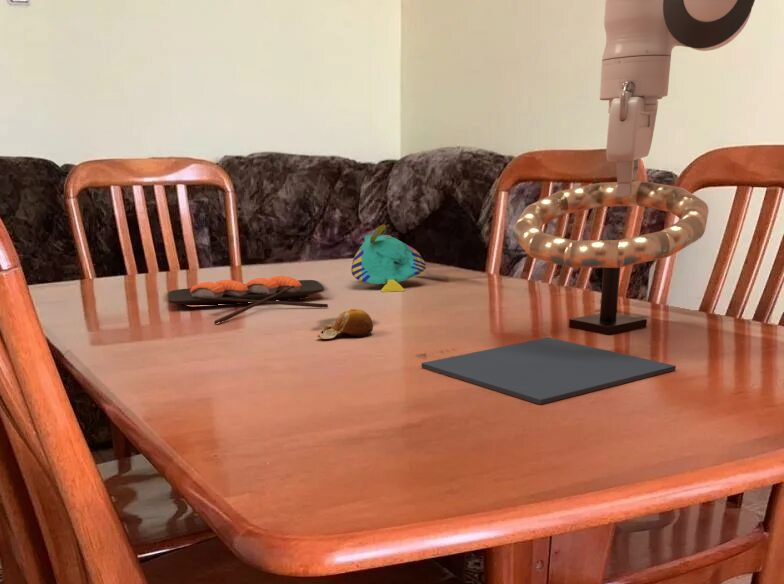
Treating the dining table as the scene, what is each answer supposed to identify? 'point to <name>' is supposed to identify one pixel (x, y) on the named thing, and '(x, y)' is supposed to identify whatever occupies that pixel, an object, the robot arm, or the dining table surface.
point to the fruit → (349, 324)
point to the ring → (611, 251)
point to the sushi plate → (248, 293)
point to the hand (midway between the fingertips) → (625, 195)
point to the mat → (547, 369)
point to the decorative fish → (386, 261)
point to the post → (608, 310)
